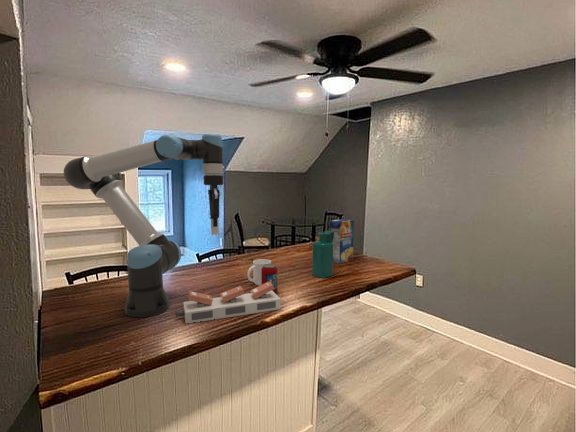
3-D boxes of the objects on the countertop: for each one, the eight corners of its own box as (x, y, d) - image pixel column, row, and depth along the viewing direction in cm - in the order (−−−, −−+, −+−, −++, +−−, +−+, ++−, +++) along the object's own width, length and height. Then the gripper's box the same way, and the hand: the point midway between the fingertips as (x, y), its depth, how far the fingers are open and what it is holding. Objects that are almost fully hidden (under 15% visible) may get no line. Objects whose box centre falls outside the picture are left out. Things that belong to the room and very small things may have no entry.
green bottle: (322, 279, 157) (323, 234, 154) (310, 275, 163) (310, 232, 161) (336, 274, 163) (336, 231, 161) (323, 271, 170) (324, 229, 167)
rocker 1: (188, 300, 111) (190, 294, 111) (187, 295, 116) (189, 290, 116) (211, 304, 114) (212, 299, 114) (209, 300, 119) (211, 295, 119)
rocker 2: (223, 302, 116) (222, 297, 116) (221, 297, 120) (220, 293, 120) (244, 293, 118) (243, 289, 118) (241, 289, 123) (240, 285, 122)
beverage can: (271, 296, 134) (271, 268, 133) (258, 293, 138) (258, 266, 136) (280, 291, 140) (280, 264, 138) (267, 288, 143) (267, 262, 142)
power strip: (176, 325, 108) (175, 310, 107) (175, 313, 117) (174, 299, 117) (280, 309, 121) (280, 295, 121) (272, 299, 131) (272, 287, 130)
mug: (252, 288, 143) (251, 266, 142) (243, 283, 150) (242, 262, 149) (274, 283, 151) (274, 261, 149) (264, 279, 157) (264, 258, 156)
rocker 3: (255, 298, 120) (253, 294, 120) (252, 294, 124) (250, 290, 124) (274, 289, 123) (272, 284, 122) (270, 285, 127) (269, 280, 126)
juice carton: (343, 257, 197) (344, 218, 195) (353, 260, 192) (354, 220, 189) (329, 261, 190) (330, 220, 187) (339, 263, 184) (340, 222, 181)
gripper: (226, 174, 122) (227, 236, 125) (220, 175, 134) (221, 231, 137) (205, 174, 119) (207, 238, 122) (201, 174, 131) (203, 232, 134)
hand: (215, 234), depth 129 cm, fingers closed
